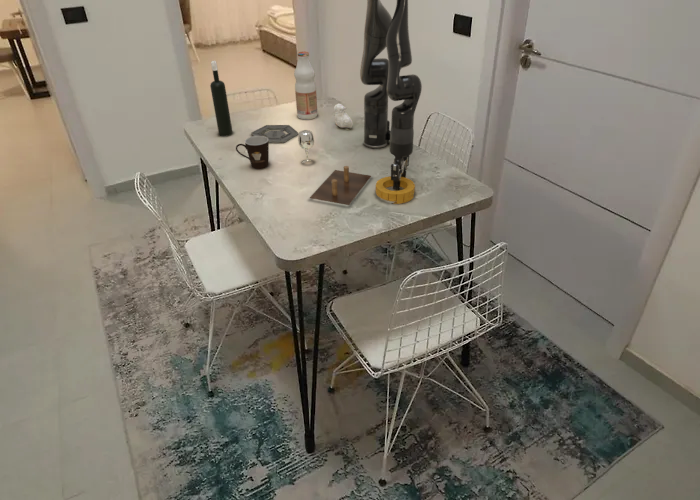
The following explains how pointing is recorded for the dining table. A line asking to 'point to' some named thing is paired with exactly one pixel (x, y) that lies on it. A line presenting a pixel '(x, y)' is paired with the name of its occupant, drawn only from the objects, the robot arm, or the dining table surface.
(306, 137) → the wineglass
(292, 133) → the grey hexagonal frame
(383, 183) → the yellow segmented ring
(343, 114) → the bust
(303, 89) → the white milk bottle
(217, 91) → the wine bottle
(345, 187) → the rack
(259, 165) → the coffee mug
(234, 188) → the dining table surface
